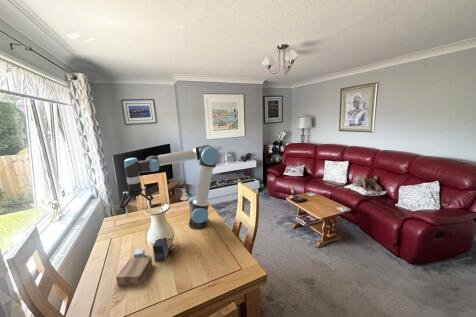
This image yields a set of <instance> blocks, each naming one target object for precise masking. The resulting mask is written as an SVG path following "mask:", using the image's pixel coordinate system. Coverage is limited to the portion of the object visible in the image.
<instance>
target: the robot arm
mask: <svg viewBox="0 0 476 317" xmlns="http://www.w3.org/2000/svg"><path fill="white" fill-rule="evenodd" d="M219 159H220V155H219V152H218V150H217V148H216V147H213V146H212V145H208V144H204V145H201V146H196V147H194V148H191V149H188V150H181V151H175V152H170V153H169V152H168V153H165V154H158V155H149V156H147V157H146V158H145V160H138V158H137V157H130V158H126V159H125V160H124V161H123V163H124V172H125V177H126V183H127V189H128V191H123V192H122V197H121V200H120V202H119V205H118V207H119V209H122V212H123V213H124V214H125V217H126V218H127V219H128V218H129V212H128V208H127V207H128V205H129V203H130V201H131V200H132V199H133V198H136V197H140V196H142V197H143V198H145V199H146V201H147V208H148V209H151V205H152V201H153V200H154V196H153V195H152V194H151V193H150V192H149V190H148V187H146V186H144V187H142V183H141V175H140V173H149V172H157V171H159V170H160V167H161V166H165V165H172V164H177V163H182V162H187V161H193V160H195V161H199V163H198V165H199V167H200V169H199V176H198V182H197V187H196V192H195V193H196V194H195V195H194V196H190V197H189V199H188V204H189V220H188V227H189V228H190V229H192V230H200V229H203V228H206V226H208V225H207V224H209V220H208V218H209V211H208V210H209V206H210V205H209V204H210V202H209V201H208V200H209V193H210V189H211V188H210V187H211V183H212V178H213V177H212V176H213V171H214V169H215V168H216V166H217V163H218V162H219ZM143 191H144V192H145V193H146V194H147V195H148V196H147V195H145V194H144V193H143ZM127 196H128V197H127ZM148 209H147V210H148Z"/></svg>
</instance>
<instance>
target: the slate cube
mask: <svg viewBox="0 0 476 317" xmlns="http://www.w3.org/2000/svg"><path fill="white" fill-rule="evenodd" d="M145 256H146V252H145V248H138V249H134V253H133V258H146V257H145Z"/></svg>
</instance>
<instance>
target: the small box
mask: <svg viewBox="0 0 476 317" xmlns="http://www.w3.org/2000/svg"><path fill="white" fill-rule="evenodd" d="M152 249H153V257H154V262H165V261H166V260H167V257H168V255H169V252H170V249H171V248H170V247H169V248H168V244H167V238H163V239H158V240H156V239H155V241H154V244H153V245H152Z"/></svg>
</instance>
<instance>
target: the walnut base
mask: <svg viewBox="0 0 476 317" xmlns="http://www.w3.org/2000/svg"><path fill="white" fill-rule="evenodd" d="M152 266H153V261H152V257H151V256H149V257H147V256H146V257H144V258H134V257H130V258H129V260H127V262H126V264H124V266H123V268H122V269H121V270H120V271H119V273H118V274H117V275H116V276H115V279H116V284H117V286H119V287H120V286H140V285H143V283H144V280H145V279H146V277H147V275H148V273H149V272H150V270H151V268H152Z"/></svg>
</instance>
